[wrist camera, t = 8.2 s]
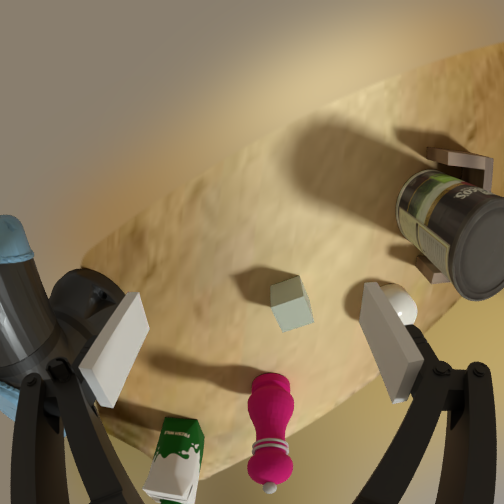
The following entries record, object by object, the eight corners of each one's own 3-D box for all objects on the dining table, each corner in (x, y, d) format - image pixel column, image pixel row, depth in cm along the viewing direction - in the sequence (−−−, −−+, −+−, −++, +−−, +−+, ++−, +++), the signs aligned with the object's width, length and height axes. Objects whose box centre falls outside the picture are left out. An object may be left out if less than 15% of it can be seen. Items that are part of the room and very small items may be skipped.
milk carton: (171, 435, 55) (152, 510, 37) (159, 413, 52) (134, 496, 34) (209, 438, 55) (196, 518, 36) (200, 416, 51) (183, 505, 33)
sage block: (281, 309, 40) (282, 332, 35) (270, 285, 38) (270, 307, 34) (309, 299, 39) (314, 322, 34) (299, 275, 38) (303, 296, 33)
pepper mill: (242, 390, 47) (232, 495, 29) (260, 365, 44) (255, 480, 26) (280, 401, 48) (281, 502, 30) (300, 377, 45) (309, 487, 27)
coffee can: (400, 163, 31) (468, 190, 18) (463, 175, 31) (535, 206, 18) (388, 243, 35) (439, 304, 22) (449, 247, 35) (507, 300, 22)
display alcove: (415, 266, 36) (432, 285, 31) (427, 147, 30) (449, 151, 25) (456, 263, 36) (475, 280, 31) (470, 152, 29) (494, 159, 25)
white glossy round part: (360, 326, 41) (366, 341, 38) (367, 285, 38) (374, 298, 35) (403, 321, 40) (411, 335, 37) (411, 281, 37) (422, 294, 34)
